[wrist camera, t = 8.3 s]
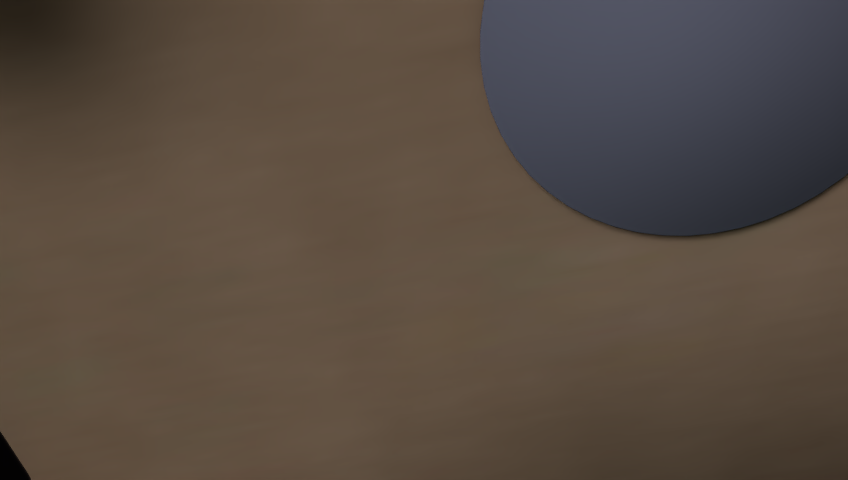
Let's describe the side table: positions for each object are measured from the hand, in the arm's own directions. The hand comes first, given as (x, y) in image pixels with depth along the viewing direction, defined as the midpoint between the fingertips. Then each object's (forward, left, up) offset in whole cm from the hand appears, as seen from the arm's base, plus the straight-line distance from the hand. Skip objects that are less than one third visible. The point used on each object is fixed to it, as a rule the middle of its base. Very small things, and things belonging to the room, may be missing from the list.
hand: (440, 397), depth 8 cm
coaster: (-4, -3, -13) cm, 14 cm away
